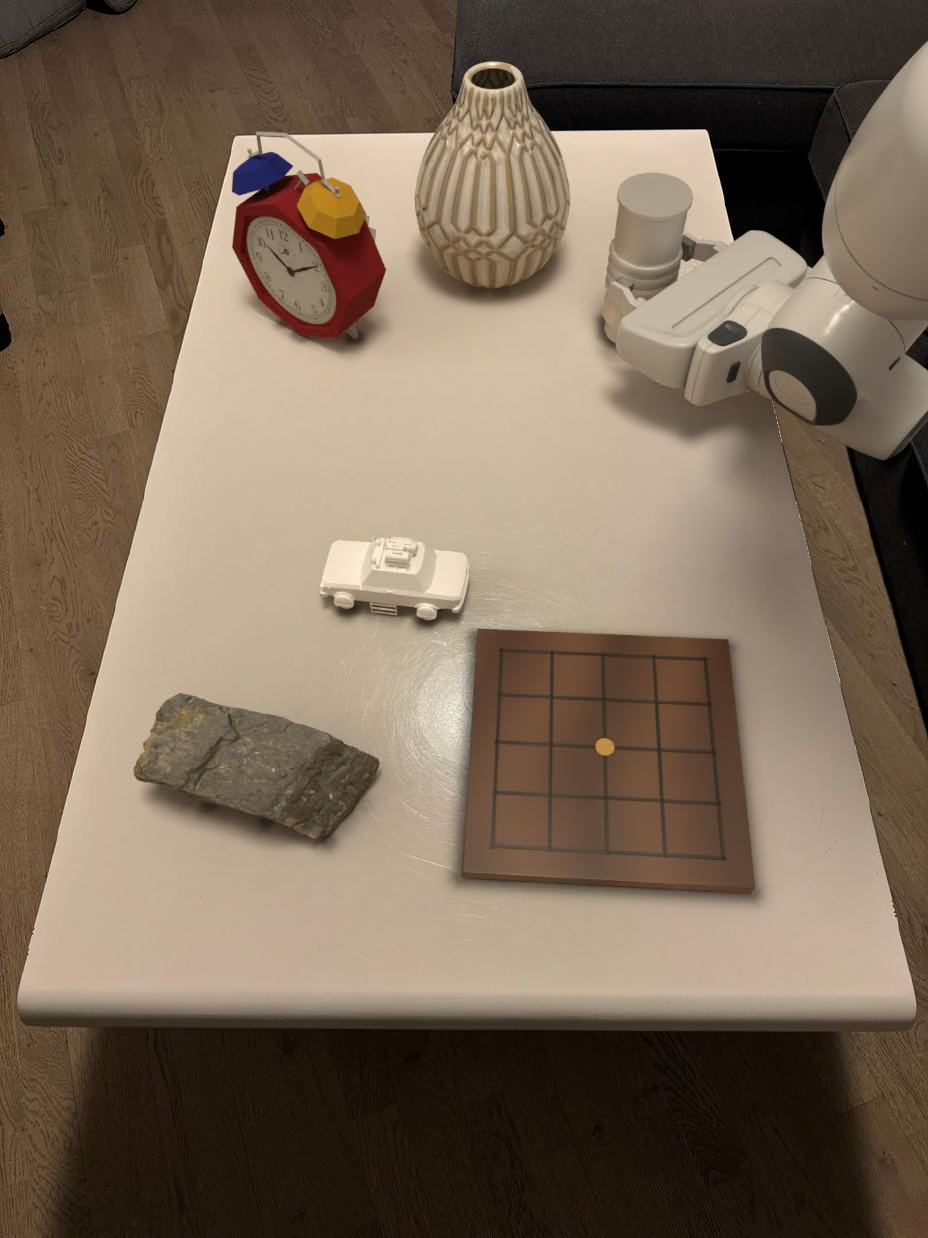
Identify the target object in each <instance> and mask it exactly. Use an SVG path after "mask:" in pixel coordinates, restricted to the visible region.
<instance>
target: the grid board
mask: <svg viewBox="0 0 928 1238" xmlns="http://www.w3.org/2000/svg"><path fill="white" fill-rule="evenodd" d="M476 632H477V634H476V648H475V649H476V650H475V664H474V680H473V695H472V696H473V697H472V712H471V713H472V714H471V728H470V729H471V730H470V743H469V757H468V775H467V790H466V792H467V793H466V807H465V808H466V809H465V821H464V822H465V823H464V838H463V840H464V841H463V856H462V871H461V872H462V873H461V874H462V878H464V879H482V880H499V881H501V880H502V881H515V882H535V883H553V884H554V883H555V884H570V885H571V884H573V885H587V886H588V885H589V886H607V887H626V888H628V887H629V888H645V889H661V890H662V889H663V890H678V891H679V890H680V891H698V892H699V891H700V892H717V893H718V892H719V893H734V894H735V893H737V894H752V893H753V892H754V890H755V889H756V883H755V873H754V865H753V855H752V847H751V837H750V829H749V828H750V827H749V818H748V809H747V801H746V790H745V783H744V782H745V781H744V780H745V779H744V772H743V763H742V754H741V743H740V736H739V725H738V715H737V705H736V698H735V687H734V680H733V679H734V678H733V669H732V660H731V651H730V641H729V639H727V638H708V637H707V638H705V637H685V636H684V637H683V636H681V637H680V636H664V635H663V636H659V635H635V634H614V633H613V634H612V633H592V632H590V633H589V632H587V633H586V632H569V631H568V632H566V631H542V630H541V631H540V630H519V629H497V628H493V629H492V628H477V631H476Z"/></svg>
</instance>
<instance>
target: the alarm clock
mask: <svg viewBox="0 0 928 1238" xmlns="http://www.w3.org/2000/svg"><path fill="white" fill-rule="evenodd" d="M255 136H256V143H257V149H258V150H257V151H255V152H253V151H252V148H248V149H247V150H246V151H247V153H248V156H247V159H245V160H244V161H243V162H242V163H241V164H239V165H238V166H237V168H235V169H234V171H233V172H232V183H231V193H233V194H235V195H237V196H243V195H246V194H247V195H248V194H250V193H253V192H255V193H253V194H252V195H251V196H249V197H248V198H247V199H245V200H243V201H242V202H241V203H239V204H238V205H237V206H236V208H235V217H234V227H233V236H232V237H233V238H232V245H231V249H232V250H233V252H234V254H235V256H236V258H237V260H238V262H239V264H240V266H241V267H242V270H243V271H244V273H245V276H246V277H247V280H248V282H249V283H250V285H251V288H252V289H253V292H254V293H255V295H256V297H257V299H258V301H260V302H261V303H262V304H263V305H265V306H266V307H267V308H268V309H269V310H270V311H271V312H272V313H274V315H276V316H277V317H278V318H280V319H281V321H283V322H284V323H285V324H286V325H287V326H289V328H291V329H292V330H293V331H294V332H296V333H297V334H298V335H299V336H300V337H312V338H326V339H338V338H339V337H341V335H342V334H344V333H345V332H346V333H347V334H348V335H349V336H350V337H351V338H352V339H353V340H354V339H358V337H359V333H358V330H357V328H356V324H355V323H356V322H358V321H359V320H360V319H361V318H362V317H363V316H365V315H366V314H368V312H369V311H370V310H372V309H373V308H374V307H375V304H376V301H377V298H378V295H379V293H380V290H381V287H382V283H383V281H384V278H385V275H386V271H387V268H386V266H385V263H384V261H383V259H382V256H381V254H380V250H379V249H378V246H377V244H376V236H377V229H374V228H372V227H370V225H369V224H370V216H369V215H367V212H366V210H365V208H364V207H363V205H362V203H361V201H360V199H359V197H358V196H357V194H356V193H355V191H354V189H353V187H352V185H351V184H348V183H347V182H343V181H342V180H339V179H337V178H335V177H329V178H326V176H325V171H324V166H323V161H322V159H321V158H320V157H319V156H318V155H317V154H315V153H314V152H312V151H311V150H310V149H309V148H307V147H306V146H304V145H303V144H302V143H300V142H299V141H298V140H297V139H295V138H294V137H293V136H291V135H290V134H288V133H287V132H276V131H275V132H274V131H255ZM261 137H263V138H281V139H282V138H283V139H284V138H285V139H287V140H289V141H290V142H291V143H293V145H295V146H297V147H298V148H299V149H300V150H302V151H303V152H305V153H306V154H307V155H309V156H310V157H311V158H313V159H314V160H315V161H317V164H318V169H319V173H320V174H319V173H318V172H310V173H304V172H303V171H302V170H301V169H299V170H298V171H297V172H296V174H288V173H289V172H290V171H291V170H292V169H293V168H294V165H293V164H292V163H290V162H289V161H288V160H287V159H285V158H284V157H282V156H281V155H280V154H278V153H277V152H274V151H268V152H263V147H262V140H261ZM287 174H288V175H287Z"/></svg>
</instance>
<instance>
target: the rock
mask: <svg viewBox="0 0 928 1238" xmlns="http://www.w3.org/2000/svg"><path fill="white" fill-rule="evenodd" d="M149 733H150V734H149V736H148V737H147V738H146V740H144V741H143V743H142V747H143V750H144V751H143V752H141V753H140V754H139V757H138V758H137V760H136V761H135V765H134V766H133V776H134V777H135V779H136V780H137V781H138V782H142V783H146V784H147V783H148V784H155V785H159V786H165V787H168V788H170V789H172V790H173V791H175V792H177V793H178V794H180V795H183V796H186V797H188V798H191V799H195V800H198V801H200V802H203V803H210V804H211V805H215V806H221V807H225V808H228V809H230V810H233V811H236V812H240V813H245V814H248V815H254V816H259V817H261V818H264V819H267V820H270V821H272V822H276V823H279V824H282V825H283V826H285V827H288V828H290V829H292V830H294V831H295V832H297V833H299V834H302V835H305V836H307V837H310V838H311V839H317V838H319V837H323V836H328V835H329V834H330V833H331V832H332V831H333V830H334V829H335V828H336V827H337V826H338V824H339V823H340V822H341V821H342V820H343V819H344V818H345V817H346V816H347V814H348V813H349V812H350V811H351V810H352V809H353V808H354V807H355V805H356V803H357V801H358V799H359V797H360V796H361V794H362V793H363V791H364V790H365V789H366V788H367V787H368V786H369V785H370V783H371V781H372V780H373V779H374V777H375V776H376V774H377V771H378V769H379V767H380V760H379V758H378V757H376V756H374V755H372V754H370V753H368V752H365V751H362V750H360V749H359V748H357V747H355V746H353V745H349V744H346V743H344V741H343V740H341V739H339V738H336V737H335V736H333V735H331V734H330V733H329V732H325V731H322V730H321V729H318V728H315V727H311V726H308V725H304V724H300V723H296V722H294V721H292V720H290V719H289V718H286V717H283V716H280V715H275V714H269V713H263V712H258V711H254V710H248V709H246V708H241V707H235V706H228V705H224V704H218V703H215V702H210V701H208V700H206V699H205V698H200V697H198V696H196V695H192V694H187V693H182V692H179V693H177V694H175V695H173V696H172V697H169V698H168V699H166V700H165V701H164V702H163V703H162V704H161V706H159V709H158V710H157V711H156V713H155V719H154V722H153V724H152V728H151V729H150V732H149Z"/></svg>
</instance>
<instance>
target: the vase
mask: <svg viewBox="0 0 928 1238" xmlns="http://www.w3.org/2000/svg"><path fill="white" fill-rule="evenodd" d="M525 82H526V81H525V79H524V76H523V73H522V72H521V70H520V69H518V68H517V67H516V66H514V65H512V64H510V63H507V62H502V61H486V62H485V61H484V62H480V63H477V64H475V65H473V66H471V67H470V68H469V69H467V70H466V72H465V73H464V75H463V78H462V81H461V85H460V88H459V92H458V95H457V97H456V100H455V103H454V104H453V106H452V108H451V109H450V110H449V111H448V113H447V114H446V115H445V117H444V118H443V119H442V120H441V122H440V123H439V125H438V127H437V129H436V130H435V132H434V133H433V135H432V137H431V138H430V140H429V143H428V145H427V147H426V148H425V152H424V154H423V156H422V160H421V163H420V166H419V170H418V174H417V177H416V178H417V179H416V184H415V192H414V210H415V211H414V212H415V217H416V222H417V226H418V230H419V233H420V236H421V238H422V241H423V243H424V245H425V247H426V249H427V251H428V252H429V254H430V256H431V257H432V258H433V260H434V261H435V262H436V263H437V264H438V266H439V267H440V268H441V269H442V270H443V271H445V272H446V273H447V274H449V275H450V276H451V277H453V278H455V279H456V280H458V281H461V282H463V283H465V284H467V285H470V286H473V287H478V288H482V289H499V288H506V287H509V286H512V285H516V284H518V283H521V282H523V281H526V280H527V279H529V278H530V277H532V276H533V275H534V274H536V273H537V272H538V271H540V270H542V268H544V267H545V265H546V264H547V263H548V261H549V260H551V258H552V256H553V255H554V254H555V252H556V250H557V249H558V247H559V245H560V243H561V241H562V239H563V236H564V234H565V231H566V229H567V228H566V227H567V225H568V219H569V216H570V208H571V189H570V181H569V176H568V171H567V167H566V164H565V160H564V157H563V154H562V151H561V148H560V146H559V144H558V142H557V140H556V138H555V136H554V135H553V133H552V131H551V130H550V128H549V126H548V125H547V123H546V121H545V120H544V118H543V117H542V116H541V115H540V113H539V112H538V110H537V109H536V107H534V105H533V103H532V102H531V99H530V96H529V93H528V89H527V86H526V83H525Z"/></svg>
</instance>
